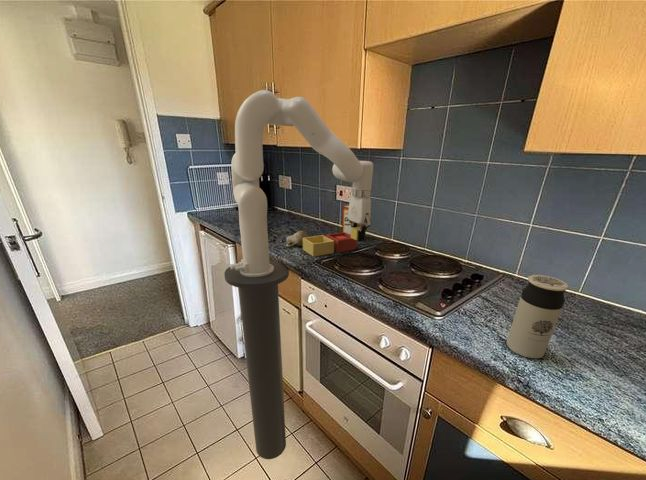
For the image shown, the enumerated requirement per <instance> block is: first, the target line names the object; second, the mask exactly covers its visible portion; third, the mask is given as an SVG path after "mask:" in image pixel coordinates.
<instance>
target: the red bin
mask: <svg viewBox="0 0 646 480" xmlns="http://www.w3.org/2000/svg"><path fill="white" fill-rule="evenodd" d="M337 236H345V237H347V238H348V239H342V240H337V239H335V237H337ZM325 237H327V238H329V239H331V240H333V241H334V252H336V253H343V252H348V251H355V250H357V243H358V242H357V241H358V240H355V239H352V238H351V235H350V234H348V233H346V232H342V231H341V232H336V233H327V234H326V235H325Z"/></svg>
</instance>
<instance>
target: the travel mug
mask: <svg viewBox="0 0 646 480" xmlns="http://www.w3.org/2000/svg"><path fill="white" fill-rule="evenodd" d="M527 281H528V283H527V285H526V286H525V287H524V288H523V289H522V291H521V294H520V297H519V301H518V304H517V308H516V311H515V314H514V317H513V320H512V323H511V327H510V329H509V332H508V335H507V340H506V342H505V343H506V345H507V348H509V349H510V350H511V351H513V352H514V353H516V354H517V355H518V356H519V355H520V356H522V357H525V358H529V359H541V358H543V357H544V356H545V353H546V351H547V349H548V346H549V343H550V341H551V338H552V335H553V333H554V330H555V327H556V325H557V322H558V320H559V317H560V315H561V313H562V309H563V307H564V304H565V302H566V299H565V295H564V294H565V292H566V291H567V290H568V289H569V284H568V283H566V282H565V281H563V280H562V279H559V278H557V277H553V276H549V275H544V274H532V275H529V276H528V277H527Z"/></svg>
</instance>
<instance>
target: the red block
mask: <svg viewBox="0 0 646 480" xmlns="http://www.w3.org/2000/svg"><path fill="white" fill-rule="evenodd" d="M335 239H337V240H342V239H348V238H347V237H345V236H337V237H335Z"/></svg>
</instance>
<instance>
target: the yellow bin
mask: <svg viewBox="0 0 646 480" xmlns="http://www.w3.org/2000/svg"><path fill="white" fill-rule="evenodd" d="M302 250H303V251H304V252H306V253H307V254H309V255H310V256H312V257H319V256H325V255H331V254H334V253H335V251H334V241H333V240H331V239H329V238H327V237H326V235H324V234H321V235H313V236H308V237H305V238H303V246H302Z"/></svg>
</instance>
